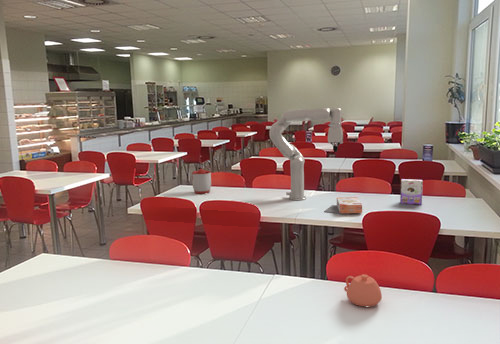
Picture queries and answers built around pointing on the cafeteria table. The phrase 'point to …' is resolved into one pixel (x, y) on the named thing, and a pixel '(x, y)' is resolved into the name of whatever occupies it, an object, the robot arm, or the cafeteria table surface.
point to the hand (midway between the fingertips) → (335, 151)
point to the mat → (334, 210)
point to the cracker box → (349, 205)
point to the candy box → (411, 191)
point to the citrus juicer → (201, 181)
